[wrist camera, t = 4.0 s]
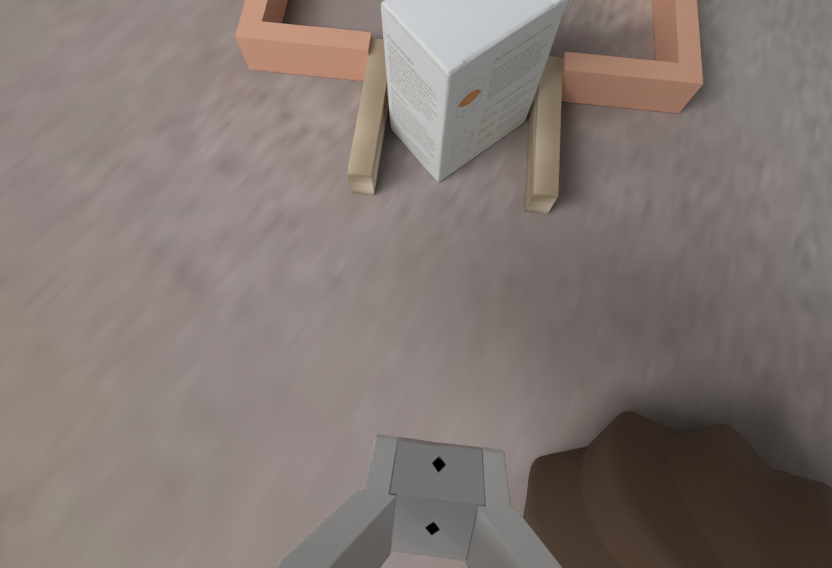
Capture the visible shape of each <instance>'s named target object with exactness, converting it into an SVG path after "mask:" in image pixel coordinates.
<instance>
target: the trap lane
mask: <svg viewBox="0 0 832 568" xmlns="http://www.w3.org/2000/svg"><path fill="white" fill-rule="evenodd" d="M562 65H563V57H555V56H548V59H547V62H546V65H545V68H544V70H543V73H542V76H541V79H540V82H539V84H538V87H537V90H536V93H535V96H534V98H533V101H532V104H531V107H530V122H529V140H528V159H527V177H526V195H525V212H532V213H542V214H548V212H549V211H550V209H551V207H552V206H553V204H554V202H555V201H556V199H557V197H558V191H559V160H560V128H561V97H562ZM388 108H389V100H388V88H387V77H386V64H385V51H384V39H375V38H372V40H371V46H370V51H369V57H368V62H367V68H366V73H365V79H364V84H363V90H362V95H361V100H360V106H359V111H358V117H357V122H356V128H355V133H354V139H353V144H352V150H351V155H350V160H349V166H348V171H347V174H348V178H349V182H350V186H351V190H352V193H359V194H368V195H374V194H375V188H376V182H377V176H378V170H379V163H380V157H381V151H382V145H383V139H384V132H385V126H386V120H387V114H388Z"/></svg>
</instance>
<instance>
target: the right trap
mask: <svg viewBox="0 0 832 568" xmlns="http://www.w3.org/2000/svg"><path fill="white" fill-rule="evenodd" d="M653 11H654V36H655V61H654V60H644V59H634V58H624V57H614V56H604V55H594V54H584V53H574V52H565V53H564V55H563V65H562V97H561V101H562V102H571V103H581V104H591V105H601V106H610V107H620V108H630V109H640V110H649V111H659V112H669V113H680V112H681V110H682V109H683V108H684V107H685V105H686V104H687V103H688V102H689V101H690V99H691V98H692V97H693V96H694V95H695V93H696V92H697V91H698V90H699V89H700V87H701V86H702V85H703V74H702V61H701V47H700V34H699V21H698V8H697V0H653Z"/></svg>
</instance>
